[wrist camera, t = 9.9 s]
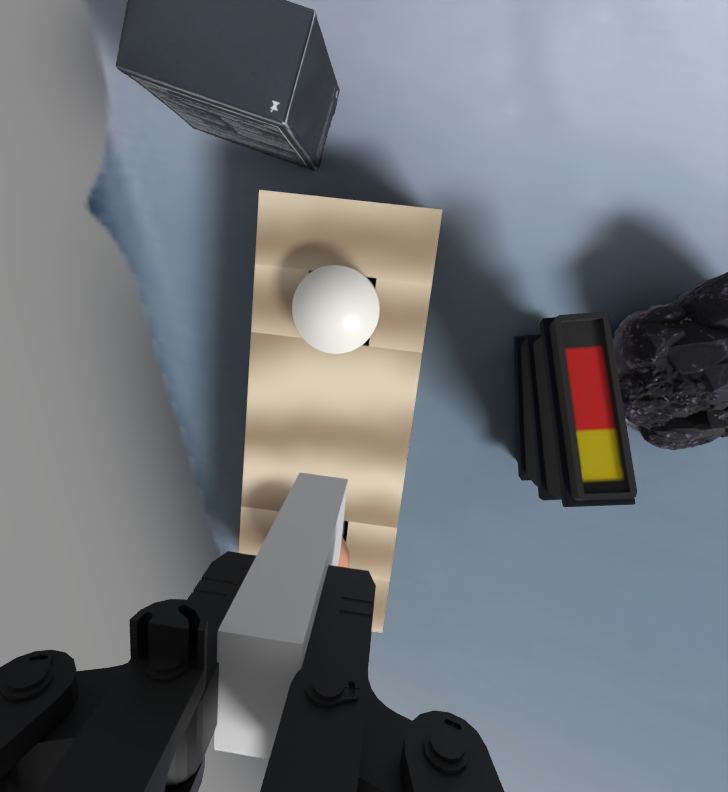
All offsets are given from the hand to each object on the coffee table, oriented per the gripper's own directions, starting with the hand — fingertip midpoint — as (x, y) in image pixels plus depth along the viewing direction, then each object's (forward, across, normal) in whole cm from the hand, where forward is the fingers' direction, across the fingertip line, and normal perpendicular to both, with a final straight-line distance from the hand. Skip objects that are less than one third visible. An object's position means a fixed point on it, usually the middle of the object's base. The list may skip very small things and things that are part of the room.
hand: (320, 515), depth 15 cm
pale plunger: (+25, -3, +4) cm, 25 cm away
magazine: (+27, +13, -1) cm, 30 cm away
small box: (+27, -11, +18) cm, 34 cm away
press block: (+26, -3, -5) cm, 27 cm away
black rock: (+27, +25, +2) cm, 37 cm away
